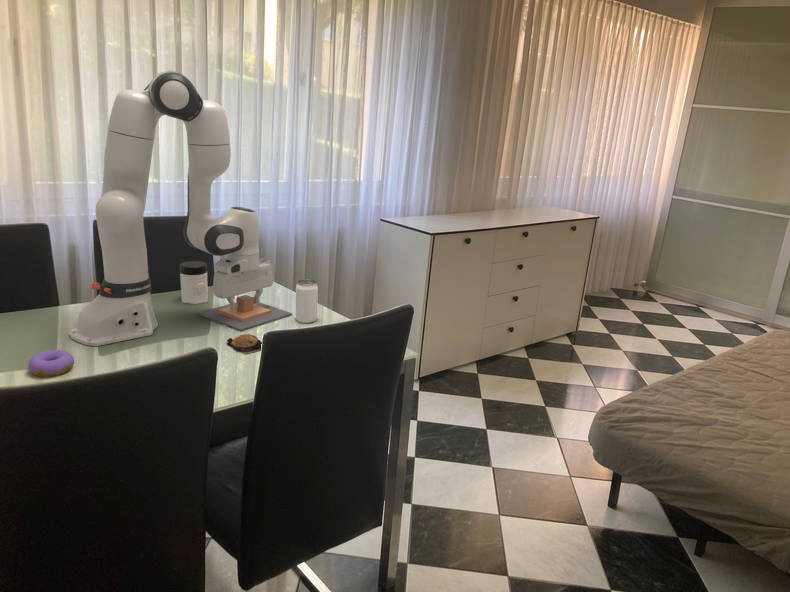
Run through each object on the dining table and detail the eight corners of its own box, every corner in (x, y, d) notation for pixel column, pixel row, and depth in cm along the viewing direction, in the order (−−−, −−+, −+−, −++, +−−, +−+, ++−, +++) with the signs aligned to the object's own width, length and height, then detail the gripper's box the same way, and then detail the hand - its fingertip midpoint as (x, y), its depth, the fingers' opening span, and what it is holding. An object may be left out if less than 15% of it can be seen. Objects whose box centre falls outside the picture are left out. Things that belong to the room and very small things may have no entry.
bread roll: (271, 350, 163) (271, 337, 162) (243, 357, 157) (242, 344, 156) (249, 338, 170) (249, 325, 169) (222, 345, 164) (221, 332, 163)
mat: (240, 331, 173) (240, 329, 173) (197, 314, 184) (197, 312, 184) (292, 315, 188) (292, 313, 188) (249, 300, 200) (249, 298, 199)
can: (306, 325, 181) (306, 286, 177) (291, 319, 184) (291, 281, 181) (321, 320, 186) (322, 282, 182) (306, 314, 189) (306, 277, 186)
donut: (26, 364, 145) (29, 344, 144) (70, 365, 150) (73, 346, 149) (27, 380, 137) (30, 360, 136) (74, 381, 142) (76, 362, 141)
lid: (242, 321, 179) (242, 305, 177) (218, 312, 185) (218, 297, 183) (271, 313, 187) (271, 297, 186) (247, 304, 193) (247, 289, 192)
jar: (187, 306, 191) (186, 268, 188) (176, 299, 197) (174, 263, 193) (214, 300, 197) (212, 264, 194) (202, 294, 203) (200, 259, 199)
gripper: (263, 254, 191) (264, 296, 195) (209, 265, 175) (210, 311, 179) (277, 258, 187) (277, 300, 192) (223, 269, 172) (224, 316, 176)
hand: (245, 305), depth 185 cm, fingers open, 7 cm apart
